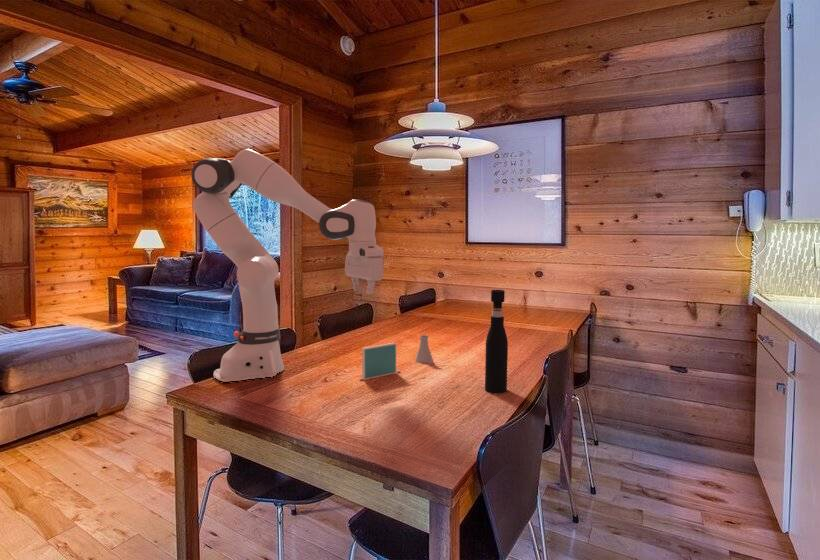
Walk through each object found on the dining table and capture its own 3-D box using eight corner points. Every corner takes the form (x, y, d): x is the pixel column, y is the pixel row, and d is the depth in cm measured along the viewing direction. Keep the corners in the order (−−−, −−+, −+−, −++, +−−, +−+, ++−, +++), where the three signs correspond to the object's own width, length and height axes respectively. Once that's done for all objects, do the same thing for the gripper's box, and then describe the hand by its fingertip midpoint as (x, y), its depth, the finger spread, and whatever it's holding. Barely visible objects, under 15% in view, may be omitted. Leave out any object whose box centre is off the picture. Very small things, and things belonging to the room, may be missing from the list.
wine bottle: (502, 395, 136) (504, 292, 133) (481, 391, 140) (483, 291, 136) (509, 388, 142) (512, 290, 138) (489, 384, 145) (491, 288, 142)
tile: (364, 380, 146) (363, 348, 145) (362, 379, 147) (361, 347, 146) (396, 373, 153) (396, 343, 152) (394, 372, 154) (394, 342, 153)
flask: (432, 367, 163) (432, 338, 162) (411, 365, 165) (412, 337, 164) (435, 361, 171) (435, 334, 169) (415, 360, 172) (415, 333, 171)
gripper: (339, 248, 161) (340, 288, 162) (369, 251, 144) (369, 296, 146) (356, 248, 164) (356, 287, 166) (386, 251, 147) (386, 294, 149)
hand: (363, 291), depth 156 cm, fingers open, 7 cm apart
